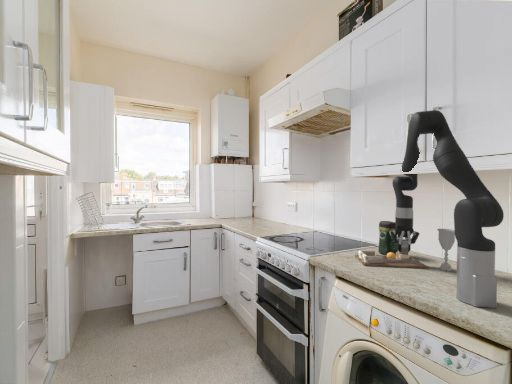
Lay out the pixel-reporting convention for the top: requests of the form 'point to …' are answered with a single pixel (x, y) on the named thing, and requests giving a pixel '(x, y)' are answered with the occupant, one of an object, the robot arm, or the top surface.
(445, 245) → the chalice
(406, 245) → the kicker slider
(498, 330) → the top surface
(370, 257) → the board
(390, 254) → the ball
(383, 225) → the coffee jar
